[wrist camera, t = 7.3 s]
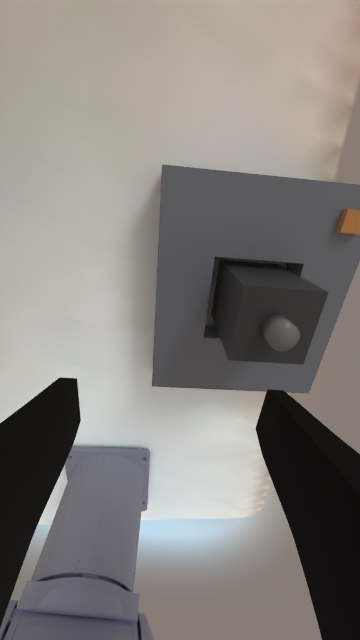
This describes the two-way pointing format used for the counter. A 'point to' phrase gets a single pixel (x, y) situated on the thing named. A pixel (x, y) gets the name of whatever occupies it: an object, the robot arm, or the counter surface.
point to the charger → (265, 312)
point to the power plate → (245, 243)
